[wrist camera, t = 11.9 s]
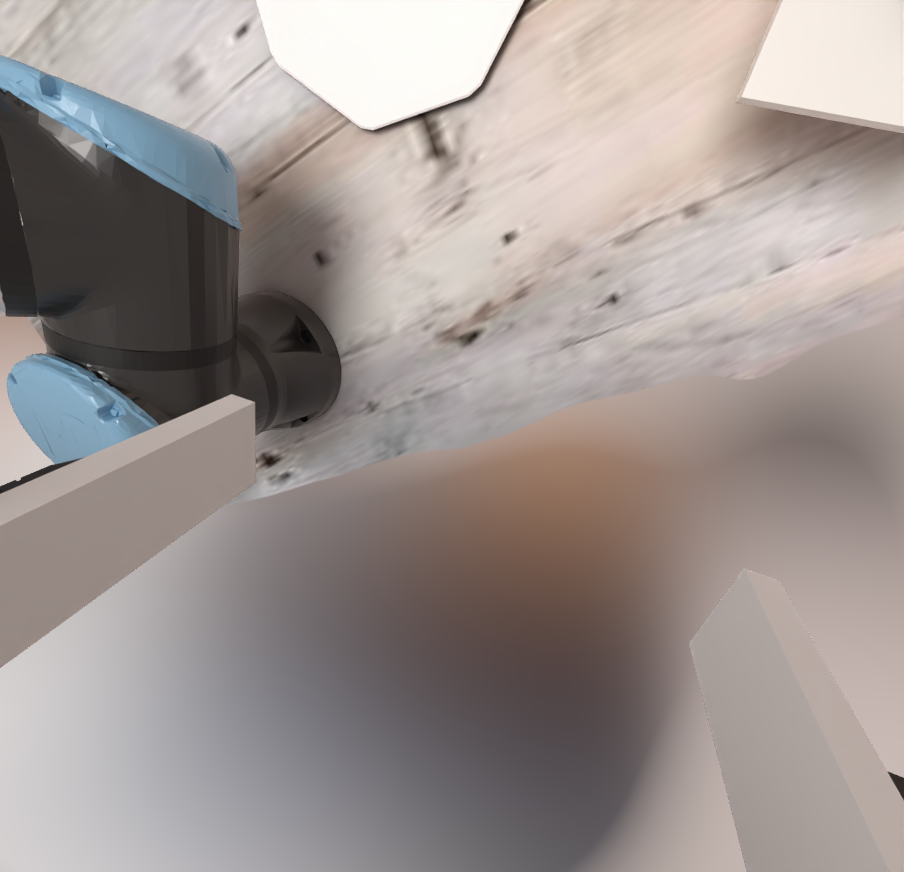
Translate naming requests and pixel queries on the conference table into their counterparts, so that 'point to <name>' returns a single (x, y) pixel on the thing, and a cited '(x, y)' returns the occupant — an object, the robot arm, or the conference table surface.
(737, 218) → the conference table surface
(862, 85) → the lid
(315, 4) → the plate
